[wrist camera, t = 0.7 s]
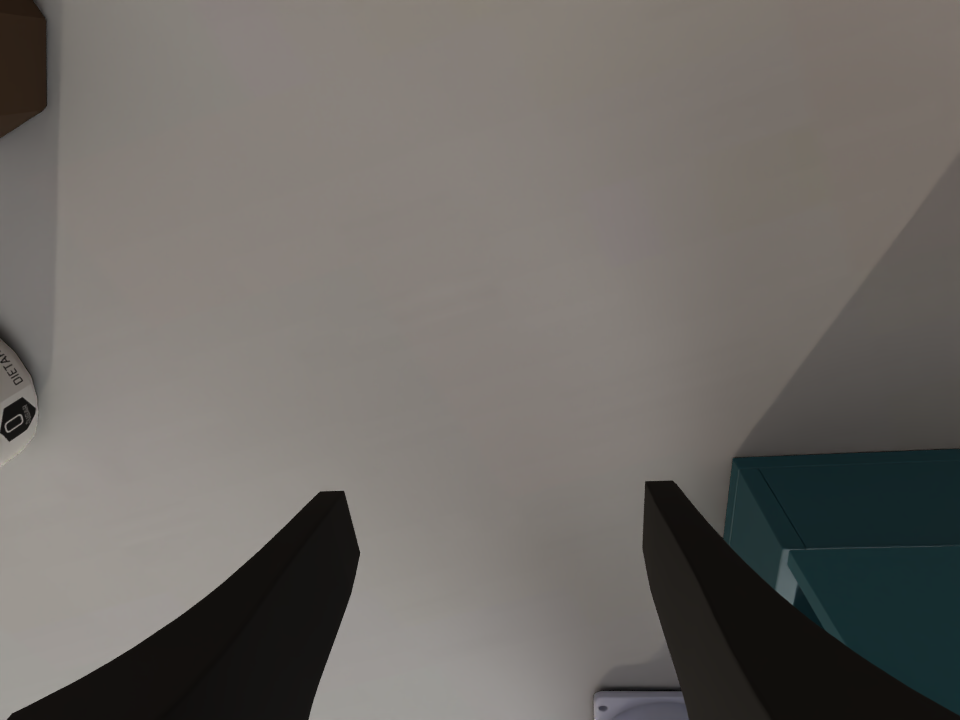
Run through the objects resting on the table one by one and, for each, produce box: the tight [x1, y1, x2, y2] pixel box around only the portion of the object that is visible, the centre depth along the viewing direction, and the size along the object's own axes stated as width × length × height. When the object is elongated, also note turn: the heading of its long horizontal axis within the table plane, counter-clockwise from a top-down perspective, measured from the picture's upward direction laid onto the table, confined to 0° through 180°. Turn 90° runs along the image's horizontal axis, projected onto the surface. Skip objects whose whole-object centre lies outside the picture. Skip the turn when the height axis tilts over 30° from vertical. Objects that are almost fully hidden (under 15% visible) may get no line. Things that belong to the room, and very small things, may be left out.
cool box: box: [723, 449, 960, 630], centre depth 24 cm, size 12×14×5 cm
